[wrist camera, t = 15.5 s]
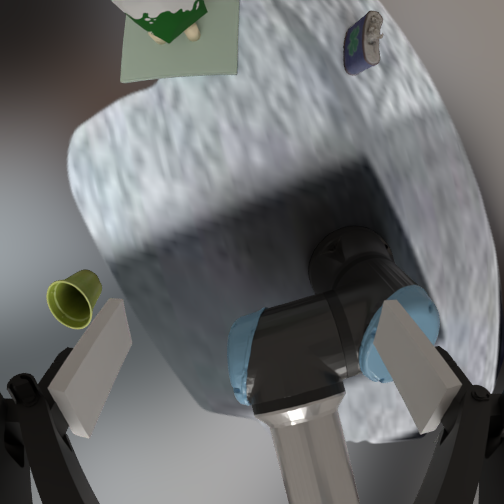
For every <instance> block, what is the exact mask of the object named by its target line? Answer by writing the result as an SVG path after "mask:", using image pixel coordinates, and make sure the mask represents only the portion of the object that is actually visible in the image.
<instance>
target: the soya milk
mask: <svg viewBox="0 0 504 504" xmlns="http://www.w3.org/2000/svg"><path fill="white" fill-rule="evenodd" d="M112 2H113V3H114V4H115V5H117V6H118V7H119V8H120V9H121V10H122V11H123V12H124V13H125V14H126V15H127V16H128V17H129V18H130V19H132V20H133V21H134V22H135V23H136V24H138V25H139V26H140V27H142V28H143V29H144V30H146V31H147V32H149V33H151V34H153V35H154V36H156V37H158V38H160V39H162V40H163V41H165V42H167V43H169V44H170V43H171V42H172V41H173V40H174V39H176V38H177V37H178V36H179V35H180V34H181V33H183V32H184V31H185V30H186V29H187V28H189V27H190V26H191V25H192V24H193V23H195V22H196V21H197V20H199V19H200V18H201V17H202V16H204V15H205V14H206V13H208V11H207V9H206V6H205V3H204V0H112Z"/></svg>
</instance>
